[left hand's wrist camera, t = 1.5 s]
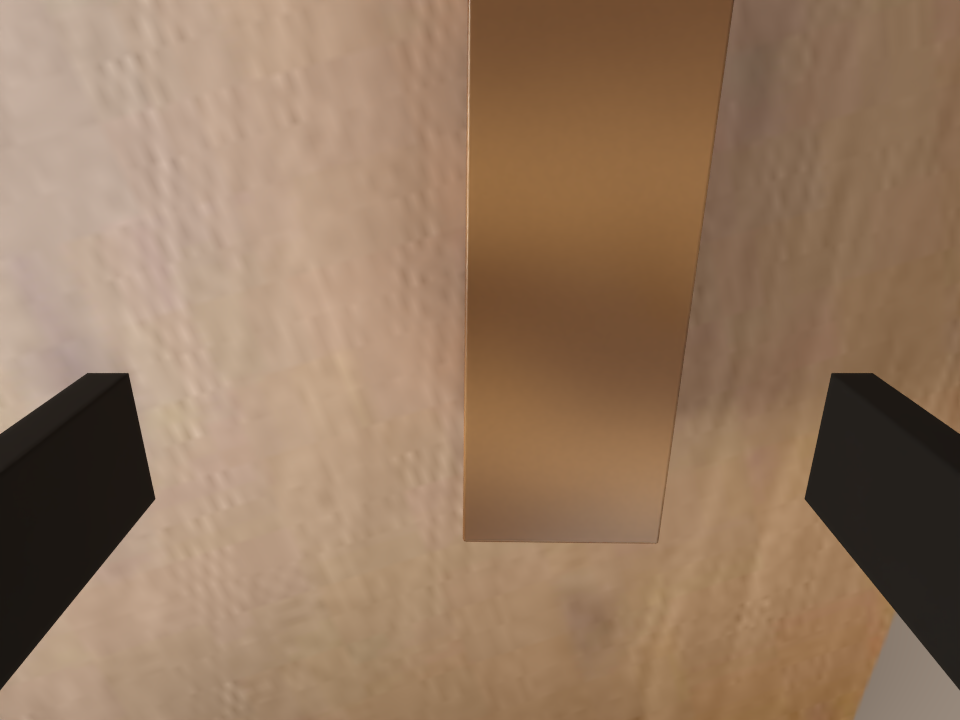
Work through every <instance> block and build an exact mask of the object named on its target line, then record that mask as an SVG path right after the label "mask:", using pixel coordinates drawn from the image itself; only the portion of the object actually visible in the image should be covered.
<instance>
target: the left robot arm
mask: <svg viewBox="0 0 960 720" xmlns="http://www.w3.org/2000/svg"><path fill="white" fill-rule="evenodd" d="M154 500H155V495H154V490H153V486H152V481H151V476H150V472H149V467H148V462H147V458H146V453H145V448H144V444H143V439H142V434H141V430H140V425H139V420H138V416H137V411H136V406H135V402H134V397H133V392H132V388H131V383H130V378H129V374H128V373H87V374H86V375H84V376H83V377H81V378H80V379H78V380H77V381H76V382H74V383H73V384H71V385H70V386H68V387H67V388H66V389H64V390H63V391H61V392H60V393H58V394H57V395H56V396H54V397H53V398H51V399H50V400H48V401H47V402H45V403H44V404H43V405H41V406H40V407H38V408H37V409H35V410H34V411H33V412H31V413H30V414H28V415H27V416H25V417H24V418H23V419H21V420H20V421H18V422H17V423H15V424H14V425H13V426H11V427H10V428H8V429H7V430H5V431H4V432H3V433H1V434H0V690H1V689H2V687H3V686H4V685H5V684H6V682H7V681H8V680H9V679H10V677H11V676H12V675H13V674H14V673H15V671H16V670H17V669H18V668H19V666H20V665H21V664H22V663H23V661H24V660H25V659H26V658H27V657H28V655H29V654H30V653H31V652H32V650H33V649H34V648H35V647H36V645H37V644H38V643H39V642H40V641H41V639H42V638H43V637H44V636H45V634H46V633H47V632H48V631H49V629H50V628H51V627H52V626H53V624H54V623H55V622H56V621H57V620H58V618H59V617H60V616H61V615H62V613H63V612H64V611H65V610H66V608H67V607H68V606H69V605H70V604H71V602H72V601H73V600H74V599H75V597H76V596H77V595H78V594H79V592H80V591H81V590H82V589H83V588H84V586H85V585H86V584H87V583H88V581H89V580H90V579H91V578H92V576H93V575H94V574H95V573H96V572H97V570H98V569H99V568H100V567H101V565H102V564H103V563H104V562H105V560H106V559H107V558H108V557H109V555H110V554H111V553H112V552H113V551H114V549H115V548H116V547H117V546H118V544H119V543H120V542H121V541H122V539H123V538H124V537H125V536H126V535H127V533H128V532H129V531H130V530H131V528H132V527H133V526H134V525H135V523H136V522H137V521H138V520H139V519H140V517H141V516H142V515H143V514H144V512H145V511H146V510H147V509H148V507H149V506H150V505H151V504H152V502H153V501H154ZM805 500H806V501H807V502H808V504H809V505H810V506H811V507H812V509H813V510H814V511H815V512H816V514H817V515H818V516H819V517H820V519H821V520H822V521H823V522H824V523H825V525H826V526H827V527H828V528H829V530H830V531H831V532H832V533H833V535H834V536H835V537H836V538H837V539H838V541H839V542H840V543H841V544H842V546H843V547H844V548H845V549H846V551H847V552H848V553H849V554H850V555H851V557H852V558H853V559H854V560H855V562H856V563H857V564H858V565H859V567H860V568H861V569H862V570H863V572H864V573H865V574H866V575H867V576H868V578H869V579H870V580H871V581H872V583H873V584H874V585H875V586H876V588H877V589H878V590H879V591H880V592H881V594H882V595H883V596H884V597H885V599H886V600H887V601H888V602H889V604H890V605H891V606H892V607H893V608H894V610H895V611H896V612H897V613H898V615H899V616H900V617H901V618H902V620H903V621H904V622H905V623H906V624H907V626H908V627H909V628H910V629H911V631H912V632H913V633H914V634H915V635H916V637H917V638H918V639H919V641H920V642H921V643H922V644H923V645H924V647H925V648H926V649H927V650H928V652H929V653H930V654H931V655H932V657H933V658H934V659H935V660H936V661H937V663H938V664H939V665H940V666H941V668H942V669H943V670H944V671H945V673H946V674H947V675H948V676H949V677H950V679H951V680H952V681H953V682H954V684H955V685H956V686H957V687H958V689H959V690H960V434H959V433H957V432H956V431H955V430H953V429H952V428H950V427H949V426H947V425H946V424H945V423H943V422H942V421H940V420H939V419H937V418H936V417H935V416H933V415H932V414H930V413H929V412H927V411H926V410H925V409H923V408H922V407H920V406H919V405H917V404H916V403H915V402H913V401H912V400H910V399H909V398H907V397H906V396H904V395H903V394H902V393H900V392H899V391H897V390H896V389H894V388H893V387H892V386H890V385H889V384H887V383H886V382H884V381H883V380H882V379H880V378H879V377H877V376H876V375H874V374H873V373H832V374H831V378H830V383H829V388H828V392H827V397H826V402H825V406H824V411H823V416H822V420H821V425H820V430H819V434H818V439H817V444H816V448H815V453H814V458H813V462H812V467H811V472H810V476H809V481H808V486H807V490H806V495H805Z"/></svg>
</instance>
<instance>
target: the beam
mask: <svg viewBox="0 0 960 720" xmlns="http://www.w3.org/2000/svg"><path fill="white" fill-rule="evenodd" d="M733 3H734V0H468V60H467V164H466V269H465V374H464V479H463V540H464V541H466V542H561V543H655V544H656V543H658V539H659V532H660V525H661V518H662V511H663V504H664V496H665V489H666V482H667V475H668V468H669V461H670V454H671V446H672V439H673V432H674V425H675V418H676V411H677V404H678V396H679V389H680V382H681V375H682V368H683V361H684V354H685V346H686V339H687V332H688V325H689V318H690V311H691V304H692V296H693V289H694V282H695V275H696V268H697V261H698V254H699V246H700V239H701V232H702V225H703V218H704V211H705V204H706V196H707V189H708V182H709V175H710V168H711V161H712V154H713V146H714V139H715V132H716V125H717V118H718V111H719V103H720V96H721V89H722V82H723V75H724V68H725V61H726V53H727V46H728V39H729V32H730V25H731V18H732V11H733Z"/></svg>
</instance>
